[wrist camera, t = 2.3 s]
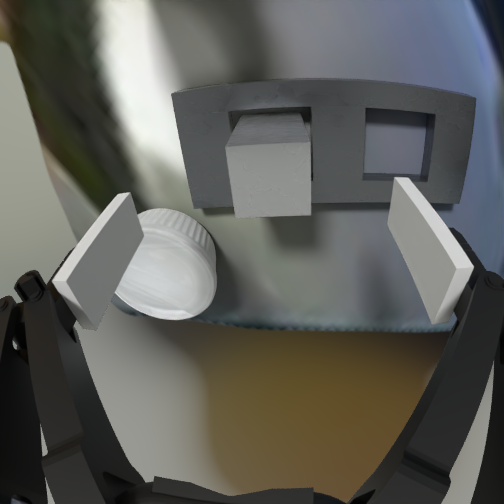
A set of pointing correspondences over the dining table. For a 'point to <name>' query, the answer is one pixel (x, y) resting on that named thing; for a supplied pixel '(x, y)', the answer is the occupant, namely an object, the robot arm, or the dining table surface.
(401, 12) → the dining table surface
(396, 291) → the dining table surface
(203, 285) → the ramekin
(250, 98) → the grey flat rectangular block
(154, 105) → the dining table surface
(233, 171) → the matte gray foam brick
